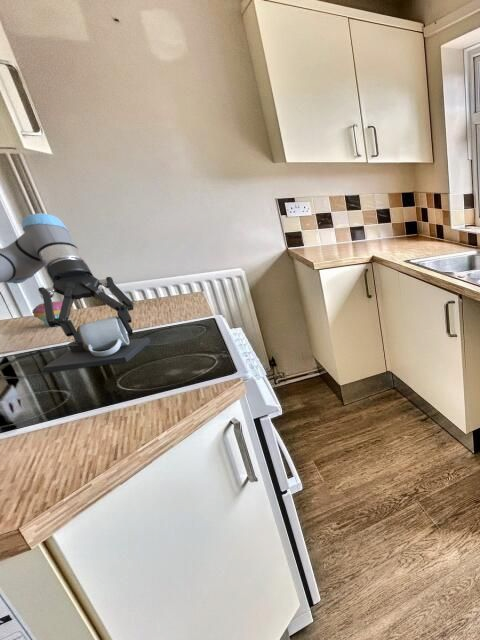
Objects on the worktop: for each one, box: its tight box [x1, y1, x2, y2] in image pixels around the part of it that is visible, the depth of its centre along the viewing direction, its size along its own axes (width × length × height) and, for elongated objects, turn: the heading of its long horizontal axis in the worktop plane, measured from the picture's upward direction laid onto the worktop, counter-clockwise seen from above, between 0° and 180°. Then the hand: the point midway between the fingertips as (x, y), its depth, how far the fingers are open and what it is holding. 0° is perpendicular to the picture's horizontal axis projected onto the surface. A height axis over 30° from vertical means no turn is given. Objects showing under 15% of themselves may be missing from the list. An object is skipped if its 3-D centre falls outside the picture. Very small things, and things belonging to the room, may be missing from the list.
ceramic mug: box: [76, 315, 130, 356], centre depth 106 cm, size 11×8×8 cm
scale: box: [42, 337, 152, 374], centre depth 108 cm, size 16×15×3 cm
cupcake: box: [31, 285, 74, 328], centre depth 129 cm, size 9×8×12 cm
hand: (106, 338), depth 105 cm, fingers closed on ceramic mug, 9 cm apart
